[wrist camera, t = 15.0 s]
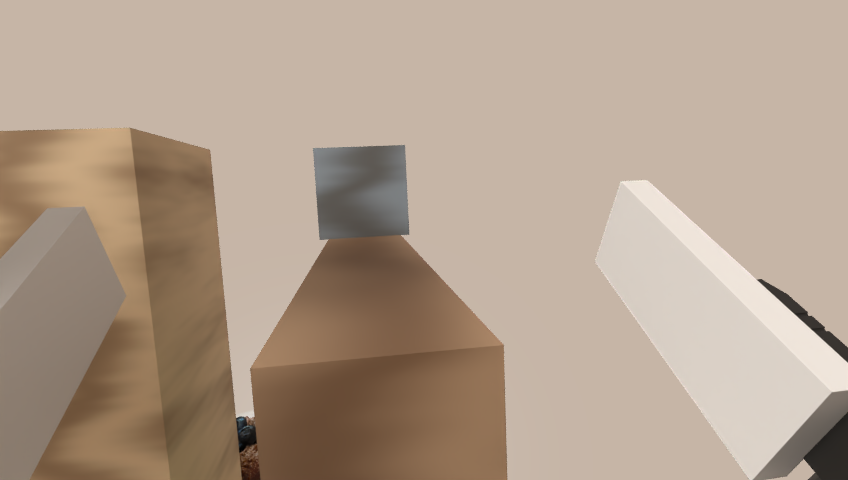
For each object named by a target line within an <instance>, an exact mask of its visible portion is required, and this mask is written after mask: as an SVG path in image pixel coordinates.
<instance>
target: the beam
mask: <svg viewBox="0 0 848 480" xmlns="http://www.w3.org/2000/svg"><path fill="white" fill-rule="evenodd" d="M313 153H314V167H315V180H316V195H317V208H318V223H319V237H320V240H324V239H329V240H328V242H327V243H326V245H325V247H324V248H323V250H322V252H321V253H320V255H319V256H318V258H317V260H316V261H315V263H314V265H313V266H312V268H311V270H310V271H309V273H308V275H307V276H306V278H305V279H304V281H303V283H302V284H301V286H300V288H299V289H298V291H297V293H296V294H295V296H294V298H293V299H292V301H291V303H290V304H289V306H288V307H287V309H286V311H285V313H284V314H283V316H282V317H281V319H280V321H279V322H278V324H277V326H276V327H275V329H274V331H273V332H272V334H271V335H270V337H269V339H268V340H267V342H266V344H265V345H264V347H263V349H262V350H261V352H260V354H259V355H258V357H257V359H256V360H255V362H254V364H253V365H252V367H251V368H250V371H251V382H252V393H253V404H254V415H255V426H256V437H257V448H258V459H259V469H260V480H507V454H506V416H505V380H504V345H503V344H502V343H501V342H500V341H499V340H498V339H497V337H496V336H495V335H494V334H493V333H492V332H491V331H490V330H489V329H488V328H487V327H486V326H485V325H484V324H483V322H482V321H480V319H479V318H478V317H477V316H476V315H475V314H474V313H473V312H472V311H471V310H470V309H469V308H468V307H467V306H466V304H465V303H464V302H463V301H462V300H461V299H460V298H459V297H458V296H457V295H456V294H455V293H454V292H453V290H451V288H450V287H449V286H448V285H447V284H446V283H445V282H444V281H443V280H442V279H441V278H440V277H439V276H438V274H437V273H436V272H435V271H434V270H433V269H432V268H431V267H430V266H429V265H428V264H427V263H426V262H425V261H424V260H423V258H422V257H421V256H420V255H419V254H418V253H417V252H416V251H415V250H414V249H413V248H412V247H411V246H410V245H409V244H408V242H407V241H406V240H405V239H404V238H403V237H402V236H401V235H407V234H408V235H409V220H408V200H407V180H406V160H405V145H398V146H368V147H339V148H313Z"/></svg>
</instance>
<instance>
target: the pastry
mask: <svg viewBox="0 0 848 480" xmlns="http://www.w3.org/2000/svg"><path fill="white" fill-rule="evenodd" d="M236 424H237V434H238V445H239V455H240V465H241V476H242V480H260V469H259V459H258V448H257V437H256V426H255V417H252V418H249V417H248V416H246V417H238V418H236Z"/></svg>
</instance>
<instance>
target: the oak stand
mask: <svg viewBox="0 0 848 480" xmlns="http://www.w3.org/2000/svg"><path fill="white" fill-rule="evenodd" d="M84 206H85V208H86V211H87V213H88V215H89V217H90V219H91V221H92V223H93V226H94V228H95V230H96V232H97V234H98V236H99V238H100V240H101V243H102V245H103V247H104V249H105V251H106V253H107V255H108V258H109V260H110V262H111V264H112V266H113V268H114V270H115V273H116V275H117V277H118V279H119V281H120V283H121V285H122V287H123V290H124V292H125V294H126V297H125V299H124V301H123V303H122V305H121V307H120V309H119V311H118V313H117V315H116V316H115V318H114V320H113V322H112V324H111V326H110V328H109V330H108V332H107V333H106V335H105V337H104V339H103V341H102V343H101V345H100V347H99V349H98V351H97V352H96V354H95V356H94V358H93V360H92V362H91V364H90V366H89V368H88V370H87V371H86V373H85V375H84V377H83V379H82V381H81V383H80V385H79V387H78V389H77V390H76V392H75V394H74V396H73V398H72V400H71V402H70V404H69V406H68V407H67V409H66V411H65V413H64V415H63V417H62V419H61V421H60V423H59V425H58V426H57V428H56V430H55V432H54V434H53V436H52V438H51V440H50V442H49V444H48V445H47V447H46V449H45V451H44V453H43V455H42V457H41V459H40V461H39V463H38V464H37V466H36V468H35V470H34V472H33V474H32V476H31V478H30V480H242V476H241V465H240V455H239V445H238V434H237V424H236V414H235V403H234V393H233V383H232V372H231V362H230V351H229V341H228V331H227V320H226V310H225V300H224V290H223V279H222V269H221V258H220V248H219V237H218V227H217V217H216V206H215V197H214V186H213V175H212V165H211V154H210V150H208V149H205V148H201V147H198V146H194V145H190V144H187V143H183V142H180V141H175V140H172V139H169V138H165V137H161V136H158V135H154V134H150V133H147V132H143V131H139V130H136V129H132V128H103V129H64V130H28V131H27V130H26V131H0V259H1V258H2V256H3V255H4V254H5V253H6V252H7V251H8V250H9V249H10V248H11V247H12V246H13V245H14V244H15V242H16V241H17V240H18V239H19V238H20V237H21V236H22V235H23V234H24V233H25V232H26V231H27V230H28V228H29V227H30V226H31V225H32V224H33V223H34V222H35V221H36V220H37V219H38V218H39V217H40V216H41V215H42V213H43V212H44V211H45V210H46V209H47V208H62V207H84Z"/></svg>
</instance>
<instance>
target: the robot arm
mask: <svg viewBox="0 0 848 480" xmlns="http://www.w3.org/2000/svg"><path fill="white" fill-rule="evenodd" d="M595 263H596V264H597V266H598V267H599V268H600V270H601V271H602V273H603V274H604V275H605V277H606V278H607V280H608V281H609V282H610V284H611V285H612V287H613V288H614V289H615V291H616V292H617V294H618V295H619V297H620V298H621V299H622V301H623V302H624V304H625V305H626V306H627V308H628V309H629V311H630V312H631V314H632V315H633V316H634V318H635V319H636V321H637V322H638V323H639V325H640V326H641V328H642V329H643V330H644V332H645V333H646V335H647V336H648V337H649V339H650V340H651V342H652V343H653V345H654V346H655V347H656V349H657V350H658V351H659V353H660V354H661V356H662V357H663V359H664V360H665V361H666V363H667V364H668V366H669V367H670V368H671V370H672V371H673V373H674V374H675V376H676V377H677V378H678V380H679V381H680V383H681V384H682V385H683V387H684V388H685V390H686V391H687V393H688V394H689V395H690V397H691V398H692V400H693V401H694V402H695V404H696V405H697V407H698V408H699V409H700V411H701V412H702V414H703V415H704V417H705V418H706V419H707V421H708V422H709V424H710V425H711V426H712V428H713V429H714V431H715V432H716V433H717V435H718V436H719V438H720V439H721V440H722V442H723V443H724V445H725V446H726V448H727V449H728V450H729V452H730V453H731V455H732V456H733V457H734V459H735V460H736V462H737V463H738V464H739V466H740V467H741V468H742V470H743V471H744V473H745V474H746V476H747V477H748V479H749V480H766V479H772V478H779V477H785V476H787V475H788V474H789V473H790V472H791V471H792V470H793V469H794V468H795V467H796V466H797V465H798V464H799V463H800V462H801V461H802V460H803V459H804V460H805V461H806V462H807V463H808V464H809V465H810V467H811V468H812V469H813V470H814V471H815V473H814V474H813V475H812V477H810V478H809V479H808V480H848V347H847V346H845V345H844V344H843V343H842V342H841V341H840V340H839V339H837V338H836V337H835V336H834V335H833V334H832V333H831V332H829V331H825V329H824V328H825V327H824V326H823V325H822V324H820V323H819V322H818V321H817V320H816V319H815V318H814V317H812V316H808V314H807V313H808V312H807V311H805V309H803V308H802V307H801V306H800V305H799V304H798V303H797V302H795V301H794V300H793V299H792V298H791V297H790V296H789V295H787V294H786V293H784V292H782V291H780V290H779V289H777V288H776V287H774V286H772V285H770V284H769V283H767V282H765V281H763V280H762V279H759V280H756V279H755V278H754V277H753V276H752V275H751V274H750V273H749V272H748V271H746V270H745V269H744V268H743V267H742V266H741V265H740V264H739V263H738V262H736V261H735V260H734V259H733V258H732V257H731V256H730V255H729V254H728V253H727V252H725V251H724V250H723V249H722V248H721V247H720V246H719V245H718V244H717V243H716V242H715V241H713V240H712V239H711V238H710V237H709V236H708V235H707V234H706V233H705V232H704V231H702V230H701V229H700V228H699V227H698V226H697V225H696V224H695V223H694V222H692V221H691V220H690V219H689V218H688V217H687V216H686V215H685V214H684V213H683V212H681V211H680V210H679V209H678V208H677V207H676V206H675V205H674V204H673V203H672V202H671V201H669V200H668V199H667V198H666V197H665V196H664V195H663V194H662V193H661V192H660V191H658V190H657V189H656V188H655V187H654V186H653V185H652V184H651V183H650V182H649V181H647V180H640V181H639V180H638V181H621V182H620V185H619V188H618V191H617V194H616V198H615V201H614V204H613V207H612V210H611V213H610V216H609V219H608V222H607V225H606V228H605V231H604V235H603V238H602V241H601V244H600V247H599V250H598V254H597V256H596V260H595ZM125 297H126V294H125V292H124V290H123V287H122V285H121V283H120V281H119V279H118V277H117V275H116V273H115V270H114V268H113V266H112V264H111V262H110V260H109V258H108V255H107V253H106V251H105V249H104V247H103V245H102V243H101V240H100V238H99V236H98V234H97V232H96V230H95V228H94V226H93V223H92V221H91V219H90V217H89V215H88V213H87V211H86V208H85V206H84V207H62V208H47V209H46V210H45V211H44V212H43V213H42V215H41V216H40V217H39V218H38V219H37V220H36V221H35V222H34V223H33V224H32V225H31V226H30V227H29V228H28V230H27V231H26V232H25V233H24V234H23V235H22V236H21V237H20V238H19V239H18V240H17V241H16V242H15V244H14V245H13V246H12V247H11V248H10V249H9V250H8V251H7V252H6V253H5V254H4V255H3V256H2V258H1V259H0V480H30V478H31V476H32V474H33V472H34V470H35V468H36V466H37V464H38V463H39V461H40V459H41V457H42V455H43V453H44V451H45V449H46V447H47V445H48V444H49V442H50V440H51V438H52V436H53V434H54V432H55V430H56V428H57V426H58V425H59V423H60V421H61V419H62V417H63V415H64V413H65V411H66V409H67V407H68V406H69V404H70V402H71V400H72V398H73V396H74V394H75V392H76V390H77V389H78V387H79V385H80V383H81V381H82V379H83V377H84V375H85V373H86V371H87V370H88V368H89V366H90V364H91V362H92V360H93V358H94V356H95V354H96V352H97V351H98V349H99V347H100V345H101V343H102V341H103V339H104V337H105V335H106V333H107V332H108V330H109V328H110V326H111V324H112V322H113V320H114V318H115V316H116V315H117V313H118V311H119V309H120V307H121V305H122V303H123V301H124V299H125Z"/></svg>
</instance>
